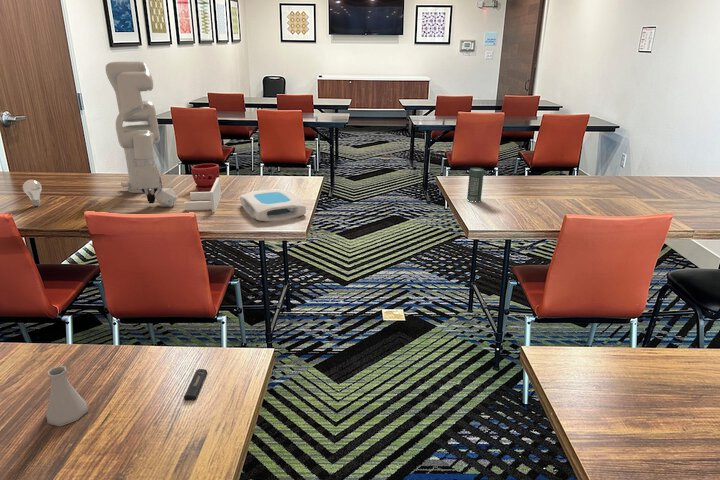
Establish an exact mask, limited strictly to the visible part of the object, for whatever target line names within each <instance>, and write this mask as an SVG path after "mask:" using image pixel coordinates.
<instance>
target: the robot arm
mask: <svg viewBox="0 0 720 480" xmlns="http://www.w3.org/2000/svg"><path fill="white" fill-rule="evenodd" d="M105 74H106V76H107V79H108V81H109V84H110V85H111V86H112V87H111V88H112V89H113V91H114V92H115V99H116V103H117V108H118V112H119V113H118V115H117V116H116V120H115V130H116V135H117V141H118V143H119V145H120V147H121V148H122V149H123V151H124V156H125V157H124V158H125V163H126V168H127V173H128V178H129V181H126V182H124V181H123V182H121V183H120V185H121V187H123V188H124V187H125V188H126V187H127V188H126V189H127V192H128V193H131V194H145V196H146V200H147V202H148V204H154V203H155V202H156V198H155V196H156V194H155V193H156V192H158V191H159V190H162V189H163V188H164V187H163V183H162V177H161V173H160V169H159V166H158V164H157V163H156V159H155V152H154V145H156V144H158V143H160V140H161V136H160V135H161V134H160V129H159V122H158V118H157V112H156V108H155V105H154V103H152V102H151V101H150V100H143V99H142V93H141V92H151V91H152V90H153V89H154V80H153V77H152V74H151V72H150V68H148V65H147V64H146V63H145V62H144V61H112V62H108V63H107V64H106V65H105ZM138 122H140V123H141V122H146V124H130V125H125V126H124V125H123V124H124V123H138Z"/></svg>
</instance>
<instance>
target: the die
mask: <svg viewBox="0 0 720 480" xmlns="http://www.w3.org/2000/svg"><path fill="white" fill-rule="evenodd" d="M177 199H178V196H177V194H176V193H175V191H174V189H173V188H172V187H171V188H169V187H167V188H165V187H163V189H162V190H158V191H157V193H156V194H155V201H156V202H157V203H158V205H159V207H162V208H163V207H165V208H166V207H169V208H172V207H173V206H174V204H175V203H176V202H177Z"/></svg>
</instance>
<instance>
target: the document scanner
mask: <svg viewBox="0 0 720 480" xmlns="http://www.w3.org/2000/svg"><path fill="white" fill-rule="evenodd" d="M239 200H240V204H241V206H242V208H243V210H244V211H245V212H246V213H247V214H248V215H249V216H250V217H251V218H252V219H253V218H254V220H256V221H261V222H267V223H272V222H279V221H286V220H292V219H297V218H299V217H301V216H304V215H306V214H307V206H306V205H305V203H304V201H302V199H301V198H300V197H299V196H297V195H296V194H294V193H292V191H290V190H286V189H278V188H269V189H260V190H252V191H249V192H246V193H244V194H241V195H240V196H239ZM282 209H286V210H287V211H288V212H284V213H280V214H279V213H278V214H268V212H271V211H274V210H275V211H276V210H282Z"/></svg>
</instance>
